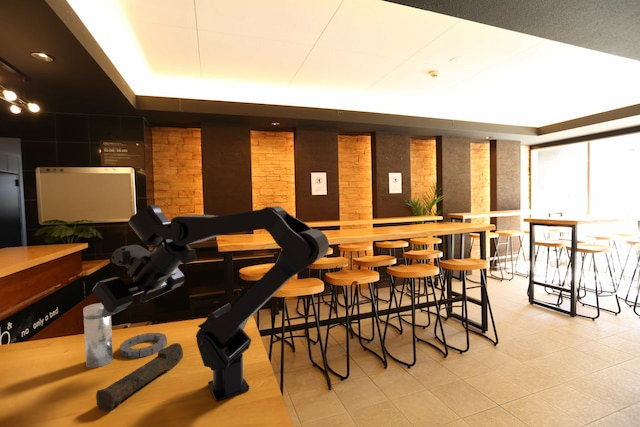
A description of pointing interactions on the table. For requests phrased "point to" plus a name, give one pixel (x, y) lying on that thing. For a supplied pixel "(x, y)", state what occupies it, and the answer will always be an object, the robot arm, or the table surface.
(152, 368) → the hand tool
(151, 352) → the ring
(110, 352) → the silver metal cylinder
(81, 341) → the table surface
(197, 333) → the robot arm
